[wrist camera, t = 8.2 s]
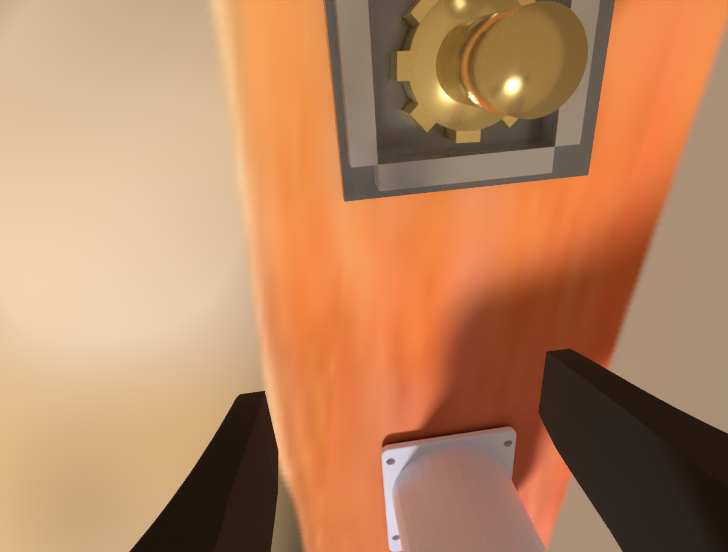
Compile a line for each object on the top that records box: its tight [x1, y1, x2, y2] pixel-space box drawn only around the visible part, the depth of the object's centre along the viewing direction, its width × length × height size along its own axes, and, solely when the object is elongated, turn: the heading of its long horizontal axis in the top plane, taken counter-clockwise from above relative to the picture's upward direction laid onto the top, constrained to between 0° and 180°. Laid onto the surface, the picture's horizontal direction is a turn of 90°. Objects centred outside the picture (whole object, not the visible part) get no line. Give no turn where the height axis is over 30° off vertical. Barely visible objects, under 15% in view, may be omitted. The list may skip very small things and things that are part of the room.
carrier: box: [323, 0, 615, 201], centre depth 14 cm, size 12×10×4 cm
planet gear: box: [390, 0, 588, 143], centre depth 13 cm, size 5×5×6 cm
